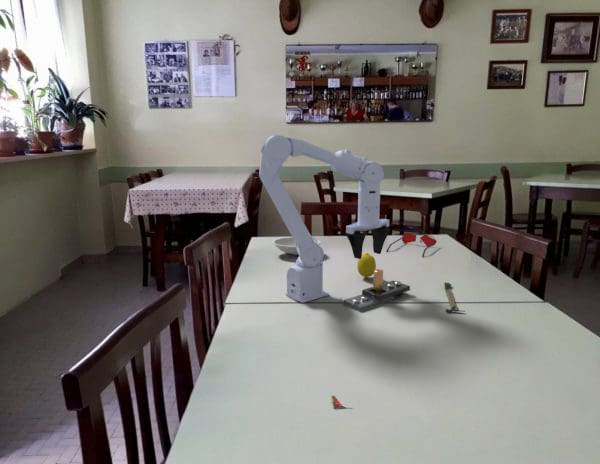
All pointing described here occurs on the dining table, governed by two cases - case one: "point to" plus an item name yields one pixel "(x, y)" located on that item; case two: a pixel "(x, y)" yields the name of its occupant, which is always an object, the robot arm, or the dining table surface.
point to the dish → (287, 245)
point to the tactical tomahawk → (451, 300)
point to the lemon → (366, 265)
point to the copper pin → (378, 281)
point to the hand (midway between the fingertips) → (367, 255)
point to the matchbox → (336, 402)
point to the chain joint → (376, 296)
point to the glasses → (411, 238)
